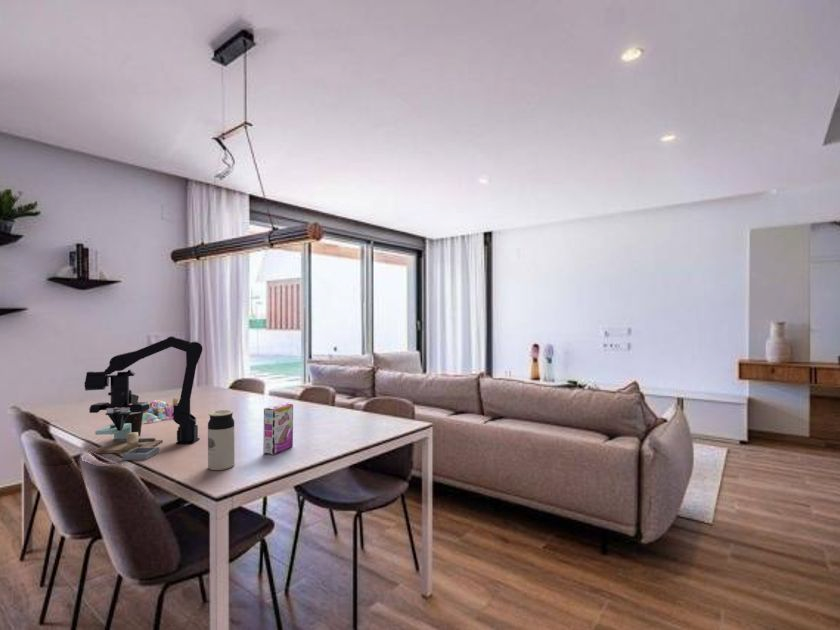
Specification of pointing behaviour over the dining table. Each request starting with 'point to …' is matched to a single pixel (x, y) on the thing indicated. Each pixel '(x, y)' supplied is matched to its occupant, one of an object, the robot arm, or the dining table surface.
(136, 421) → the coffee mug
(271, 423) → the candy bar box
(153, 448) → the slate tray
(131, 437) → the maple peg
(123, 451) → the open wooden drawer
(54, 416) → the dining table surface
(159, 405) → the pastel sphere sculpture
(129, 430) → the teal lid
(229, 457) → the travel mug
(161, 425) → the dining table surface
